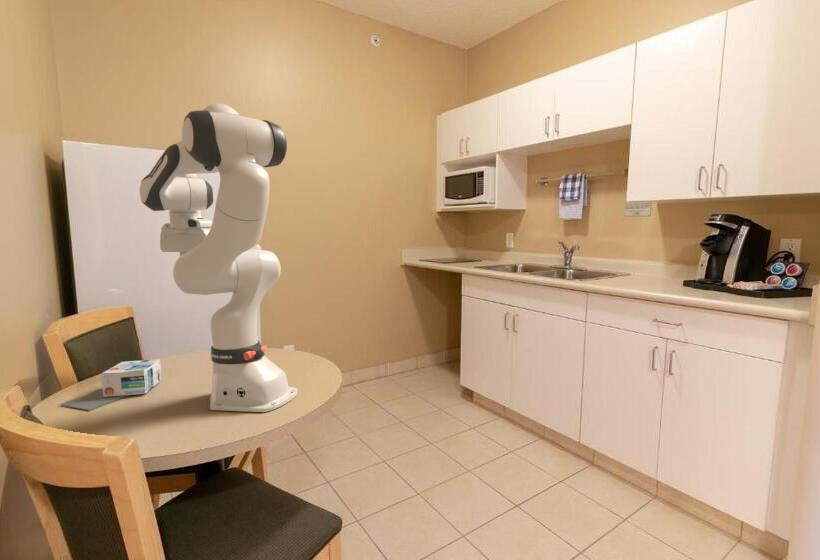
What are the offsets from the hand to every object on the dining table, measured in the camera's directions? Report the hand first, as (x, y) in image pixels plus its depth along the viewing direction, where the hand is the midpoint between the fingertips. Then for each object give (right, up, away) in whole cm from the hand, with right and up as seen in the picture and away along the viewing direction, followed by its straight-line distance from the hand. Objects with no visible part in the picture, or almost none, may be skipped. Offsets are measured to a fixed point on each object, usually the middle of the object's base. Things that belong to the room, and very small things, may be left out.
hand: (189, 266), depth 129 cm
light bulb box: (-8, -31, -11) cm, 34 cm away
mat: (-12, -36, -21) cm, 43 cm away
